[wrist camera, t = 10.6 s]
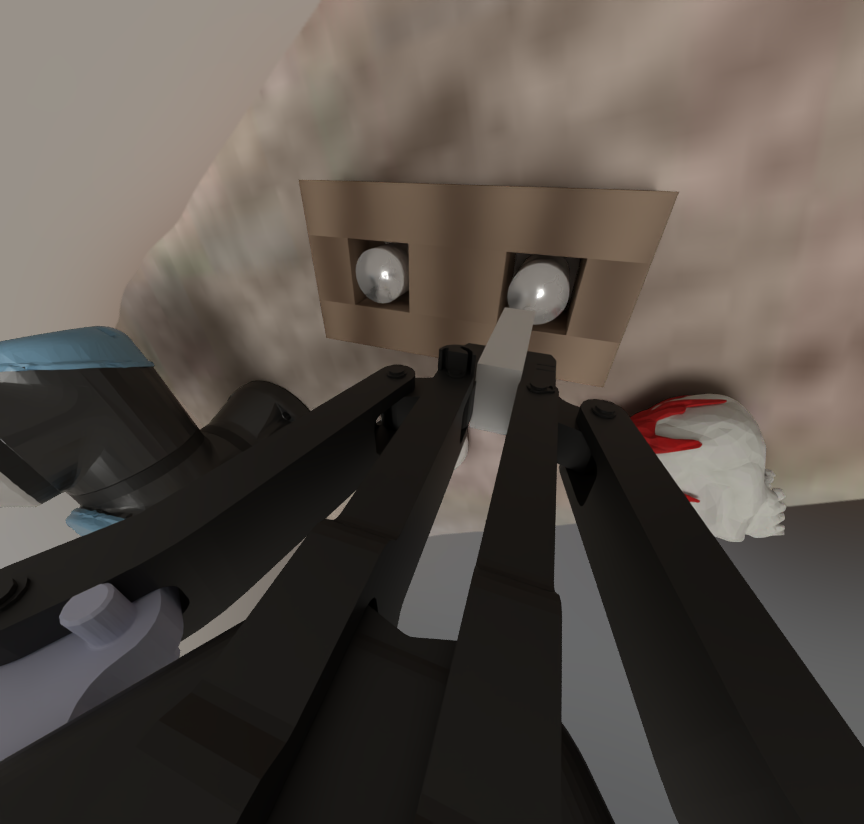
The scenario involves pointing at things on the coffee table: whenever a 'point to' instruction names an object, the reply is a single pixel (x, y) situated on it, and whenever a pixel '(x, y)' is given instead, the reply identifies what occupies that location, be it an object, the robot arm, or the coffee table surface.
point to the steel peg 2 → (541, 287)
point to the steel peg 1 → (384, 272)
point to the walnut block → (483, 263)
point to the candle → (716, 463)
